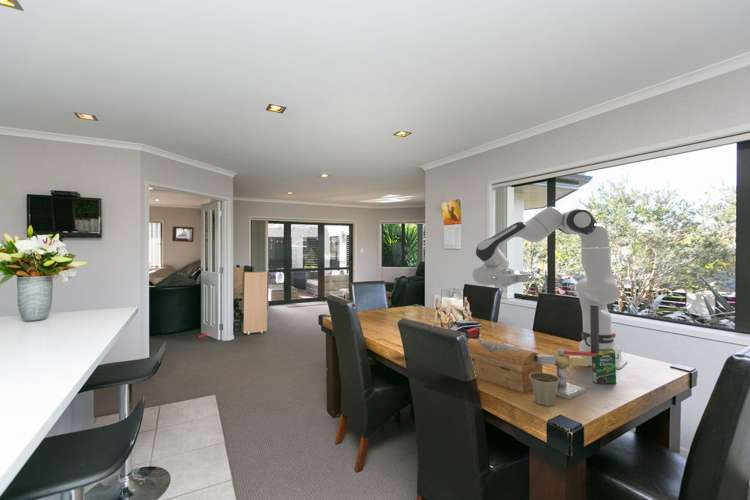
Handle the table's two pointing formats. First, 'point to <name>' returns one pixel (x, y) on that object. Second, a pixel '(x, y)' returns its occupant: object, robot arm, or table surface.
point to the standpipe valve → (564, 372)
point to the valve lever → (594, 335)
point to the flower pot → (544, 388)
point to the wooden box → (503, 365)
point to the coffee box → (604, 367)
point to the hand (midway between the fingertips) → (530, 278)
